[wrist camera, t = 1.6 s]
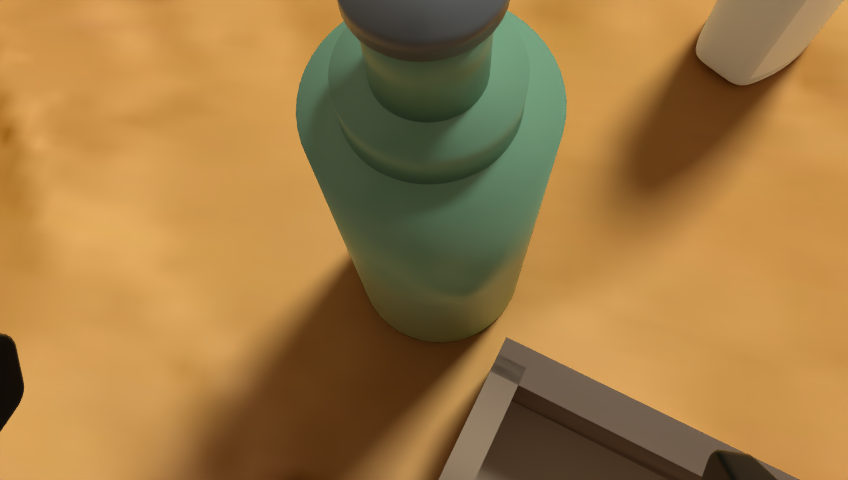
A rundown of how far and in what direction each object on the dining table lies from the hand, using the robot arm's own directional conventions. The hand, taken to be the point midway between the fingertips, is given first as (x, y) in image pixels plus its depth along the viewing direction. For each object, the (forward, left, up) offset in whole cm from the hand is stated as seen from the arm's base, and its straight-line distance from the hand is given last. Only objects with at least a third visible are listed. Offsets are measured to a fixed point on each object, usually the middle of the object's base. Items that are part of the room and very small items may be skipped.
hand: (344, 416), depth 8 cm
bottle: (+5, +4, -12) cm, 14 cm away
